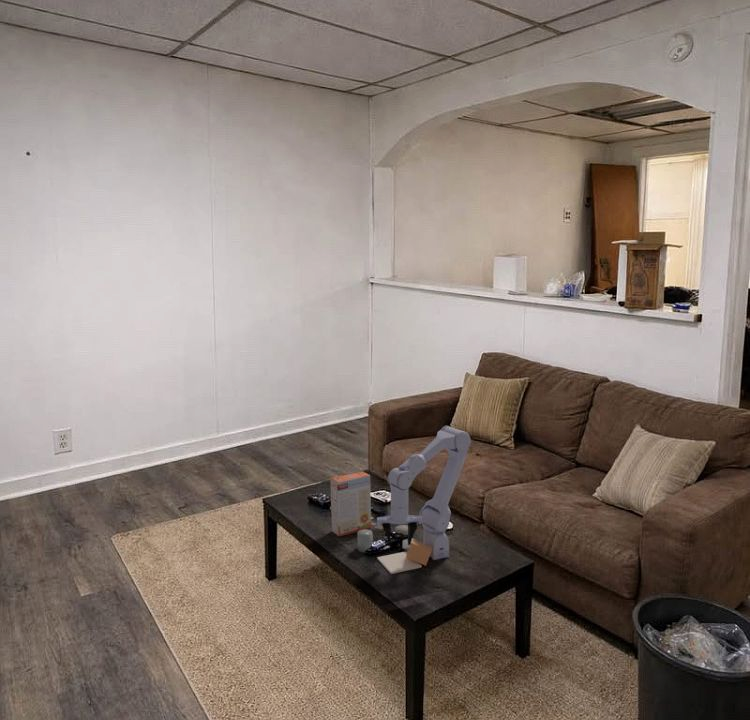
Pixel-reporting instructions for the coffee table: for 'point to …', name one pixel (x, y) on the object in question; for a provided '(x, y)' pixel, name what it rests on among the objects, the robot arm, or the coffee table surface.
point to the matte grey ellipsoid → (402, 529)
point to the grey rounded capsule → (364, 539)
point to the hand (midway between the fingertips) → (399, 544)
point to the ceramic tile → (398, 562)
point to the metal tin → (406, 544)
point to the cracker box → (350, 503)
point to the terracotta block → (419, 552)
